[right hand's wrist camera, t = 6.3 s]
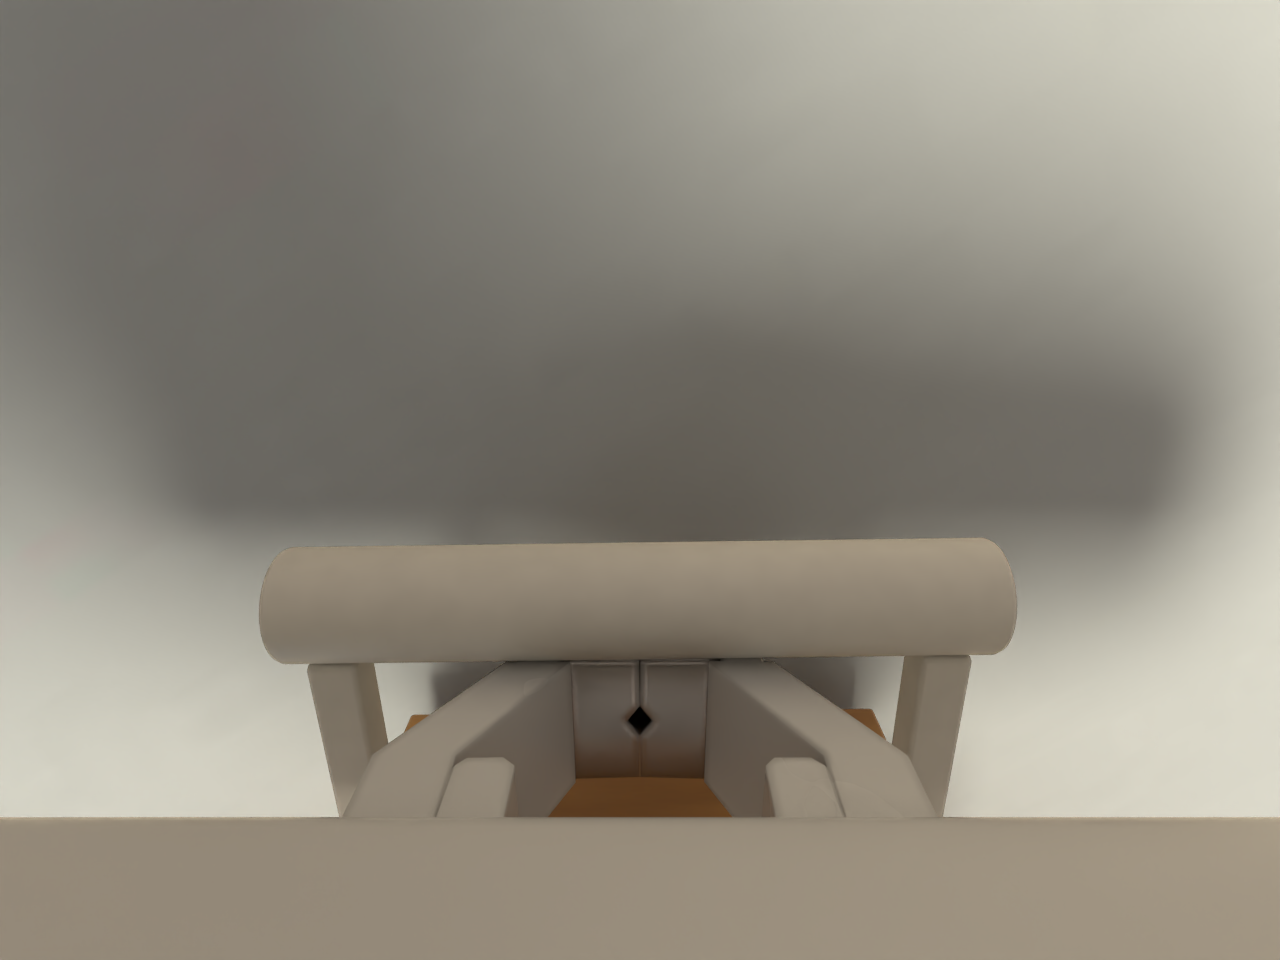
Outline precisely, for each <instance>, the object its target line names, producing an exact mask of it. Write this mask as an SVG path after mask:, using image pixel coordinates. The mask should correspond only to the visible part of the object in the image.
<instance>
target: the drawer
mask: <svg viewBox="0 0 1280 960" xmlns="http://www.w3.org/2000/svg"><path fill="white" fill-rule="evenodd" d="M1016 616H1017V596H1016V588H1015V583H1014V578H1013V574H1012V571H1011V568H1010V565H1009V563H1008V561H1007V559H1006V557H1005V555H1004V553H1003V552H1002V550H1001V549H1000V548H999V547H998V545H996V544H995V543H994V542H992V541H990V540H988V539H985V538H920V539H847V540H774V541H702V542H629V543H557V544H484V545H411V546H339V547H291V548H288V549H286V550H284V551H282V552H281V553H279V554H278V555H277V556H276V557H275V559H274V560H273V561H272V563H271V565H270V567H269V568H268V571H267V573H266V575H265V578H264V582H263V585H262V590H261V595H260V603H259V624H260V631H261V637H262V640H263V643H264V646H265V648H266V650H267V652H268V653H269V655H270V656H271V657H272V658H273V659H274V660H276V661H278V662H280V663H283V664H309V666H308V669H307V673H308V677H309V682H310V686H311V691H312V695H313V700H314V704H315V709H316V714H317V718H318V723H319V727H320V732H321V736H322V741H323V745H324V750H325V754H326V759H327V763H328V768H329V772H330V777H331V781H332V786H333V790H334V795H335V799H336V804H337V809H338V813H339V817H342V816H343V814H344V812H345V810H346V808H347V806H348V804H349V802H350V800H351V797H352V795H353V793H354V791H355V789H356V787H357V785H358V783H359V781H360V779H361V777H362V775H363V773H364V771H365V769H366V767H367V765H368V763H369V761H370V759H371V756H372V754H374V753H375V752H377V751H378V750H380V749H381V748H383V747H384V746H385V745H387V744H388V739H387V734H386V728H385V723H384V717H383V712H382V706H381V700H380V695H379V689H378V684H377V678H376V672H375V667H374V663H404V662H479V661H554V660H628V659H703V658H778V657H853V656H905V657H904V664H903V670H902V677H901V684H900V691H899V698H898V705H897V712H896V719H895V726H894V733H893V740H892V745H894V746H895V747H896V748H898V749H899V750H901V751H902V752H904V753H905V754H906V755H908V757H909V759H910V761H911V763H912V765H913V767H914V769H915V771H916V773H917V775H918V777H919V779H920V782H921V784H922V786H923V788H924V790H925V792H926V794H927V796H928V798H929V800H930V802H931V804H932V807H933V809H934V811H935V813H936V815H937V817H943V812H944V807H945V801H946V796H947V791H948V785H949V780H950V775H951V769H952V764H953V758H954V753H955V748H956V742H957V737H958V731H959V726H960V721H961V715H962V710H963V705H964V699H965V694H966V688H967V683H968V678H969V672H970V667H971V658H970V656H969V655H993V654H996V653H998V652H1000V651H1002V650H1004V649H1005V648H1006V647H1007V645H1008V644H1009V642H1010V640H1011V638H1012V635H1013V633H1014V629H1015V624H1016ZM842 710H843V711H845V712H846V713H848V714H849V715H851V716H852V717H853V718H855V719H856V720H858V721H859V722H861V723H862V724H863V725H865V726H866V727H868V728H869V729H871V730H872V731H874V732H875V733H876V734H878V735H879V736H881V737H882V738H884V739H885V736H884V734H883V732H882V730H881V728H880V725H879V723H878V721H877V719H876V717H875V714H874V712H873V710H871V709H842ZM427 716H429V715H412V716H411V718H410V720H409V722H408V725H407V727H406V729H405V731H404V732H406V731H407V730H409V729H410V728H411V727H413V726H414V725H416V724H417V723H419V722H420V721H421V720H423V719H424V718H426V717H427ZM885 740H886V739H885ZM575 781H576V782H575V784H574V785H573V786H572V787H571V789H570V790H569V791H568V792H567V794H566V795H565V796H564V797H563V799H562V800H561V801H560V802H559V804H558V805H557V806H556V807H555V809H554V810H553V811H552V812H551V814H550V815H549V816H548V817H732V816H731V815H730V813H729V812H728V811H727V810H726V808H725V807H724V806H723V805H722V803H721V802H720V801H719V800H718V798H717V797H716V796H715V795H714V793H713V792H712V791H711V790H710V788H709V787H708V786H707V785H706V783H705V782H704V779H693V778H656V777H640V762H639V777H622V778H586V779H575Z"/></svg>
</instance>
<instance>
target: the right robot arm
mask: <svg viewBox="0 0 1280 960" xmlns="http://www.w3.org/2000/svg"><path fill="white" fill-rule="evenodd" d="M639 762H640V777H656V778H693V779H704V782H705V783H706V785H707V786H708V787H709V788H710V790H711V791H712V792H713V793H714V795H715V796H716V797H717V798H718V800H719V801H720V802H721V803H722V805H723V806H724V807H725V808H726V810H727V811H728V812H729V813H730V815H731V816H732V817H548V816H549V815H550V814H551V812H552V811H553V810H554V809H555V807H556V806H557V805H558V804H559V802H560V801H561V800H562V799H563V797H564V796H565V795H566V794H567V792H568V791H569V790H570V789H571V787H572V786H573V785H574V784H575V782H576V781H575V779H586V778H622V777H639ZM0 960H1280V817H937V815H936V813H935V811H934V809H933V807H932V804H931V802H930V800H929V798H928V796H927V794H926V792H925V790H924V788H923V786H922V784H921V782H920V779H919V777H918V775H917V773H916V771H915V769H914V767H913V765H912V763H911V761H910V759H909V757H908V755H906V754H905V753H904V752H902V751H901V750H899V749H898V748H896V747H895V746H894V745H892V744H891V743H889V742H888V741H886V740H885V739H884V738H882V737H881V736H879V735H878V734H876V733H875V732H874V731H872V730H871V729H869V728H868V727H866V726H865V725H863V724H862V723H861V722H859V721H858V720H856V719H855V718H853V717H852V716H851V715H849V714H848V713H846V712H845V711H843V710H842V709H841V708H839V707H838V706H836V705H835V704H833V703H832V702H831V701H829V700H828V699H826V698H825V697H823V696H822V695H821V694H819V693H818V692H816V691H815V690H813V689H812V688H810V687H809V686H808V685H806V684H805V683H803V682H802V681H800V680H799V679H798V678H796V677H795V676H793V675H792V674H790V673H789V672H788V671H786V670H785V669H783V668H782V667H780V666H779V665H778V664H776V663H775V662H773V661H763V659H762V658H703V659H628V660H554V661H507V662H505V663H504V664H502V665H501V666H499V667H498V668H496V669H495V670H494V671H492V672H491V673H489V674H488V675H486V676H485V677H483V678H482V679H481V680H479V681H478V682H476V683H475V684H473V685H472V686H470V687H469V688H468V689H466V690H465V691H463V692H462V693H460V694H459V695H458V696H456V697H455V698H453V699H452V700H450V701H449V702H447V703H446V704H445V705H443V706H442V707H440V708H439V709H437V710H436V711H434V712H433V713H432V714H430V715H429V716H427V717H426V718H424V719H423V720H421V721H420V722H419V723H417V724H416V725H414V726H413V727H411V728H410V729H409V730H407V731H406V732H404V733H403V734H401V735H400V736H398V737H397V738H396V739H394V740H393V741H391V742H390V743H388V744H387V745H385V746H384V747H383V748H381V749H380V750H378V751H377V752H375V753H374V754H372V756H371V759H370V761H369V763H368V765H367V767H366V769H365V771H364V773H363V775H362V777H361V779H360V781H359V783H358V785H357V787H356V789H355V791H354V793H353V795H352V797H351V800H350V802H349V804H348V806H347V808H346V810H345V812H344V814H343V816H342V817H0Z"/></svg>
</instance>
